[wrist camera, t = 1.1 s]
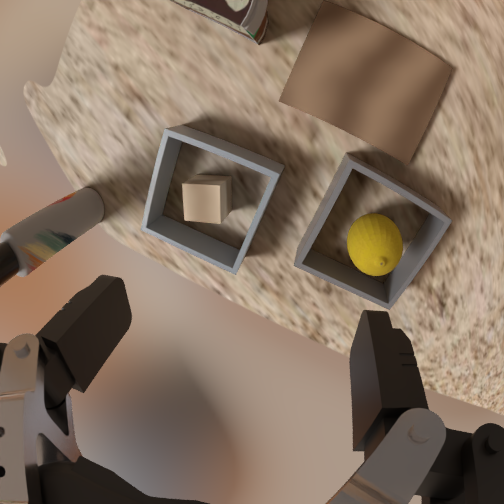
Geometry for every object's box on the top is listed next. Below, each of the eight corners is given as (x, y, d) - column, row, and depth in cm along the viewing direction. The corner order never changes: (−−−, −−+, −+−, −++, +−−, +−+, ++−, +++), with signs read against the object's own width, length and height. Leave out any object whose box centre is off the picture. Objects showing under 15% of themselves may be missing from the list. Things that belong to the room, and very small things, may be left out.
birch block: (231, 175, 32) (219, 185, 28) (231, 210, 33) (220, 223, 30) (197, 174, 32) (182, 183, 29) (198, 207, 34) (184, 220, 31)
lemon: (384, 254, 32) (397, 295, 25) (339, 243, 32) (342, 283, 25) (399, 210, 29) (420, 242, 22) (351, 197, 30) (360, 227, 23)
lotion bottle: (72, 197, 38) (-34, 262, 21) (92, 179, 36) (-26, 245, 18) (90, 229, 40) (-9, 306, 22) (111, 214, 37) (2, 295, 20)
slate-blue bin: (284, 165, 30) (279, 174, 26) (244, 257, 36) (235, 274, 32) (182, 124, 30) (164, 128, 26) (157, 216, 36) (140, 229, 32)
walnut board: (448, 68, 20) (452, 67, 19) (404, 163, 26) (407, 165, 26) (323, 3, 20) (323, 0, 20) (280, 101, 27) (278, 101, 26)
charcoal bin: (438, 206, 27) (452, 220, 24) (384, 289, 34) (389, 309, 30) (345, 152, 28) (349, 159, 24) (297, 248, 34) (293, 265, 30)
